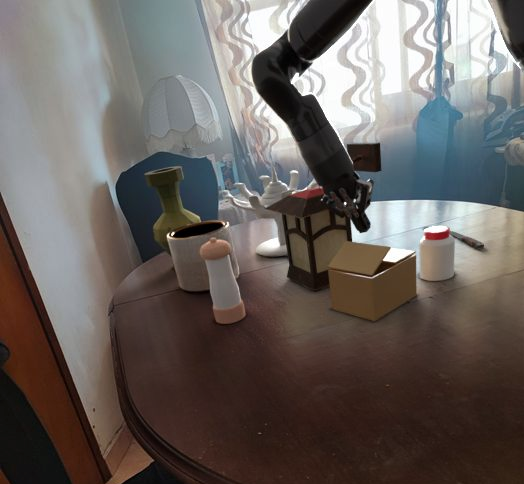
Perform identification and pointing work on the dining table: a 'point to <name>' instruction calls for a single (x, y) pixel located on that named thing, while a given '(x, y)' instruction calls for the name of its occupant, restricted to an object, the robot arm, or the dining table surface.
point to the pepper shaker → (222, 282)
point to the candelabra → (258, 204)
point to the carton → (375, 286)
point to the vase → (169, 204)
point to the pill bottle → (436, 254)
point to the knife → (466, 239)
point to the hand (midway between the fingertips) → (365, 230)
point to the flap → (359, 257)
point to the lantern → (319, 224)
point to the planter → (197, 252)
